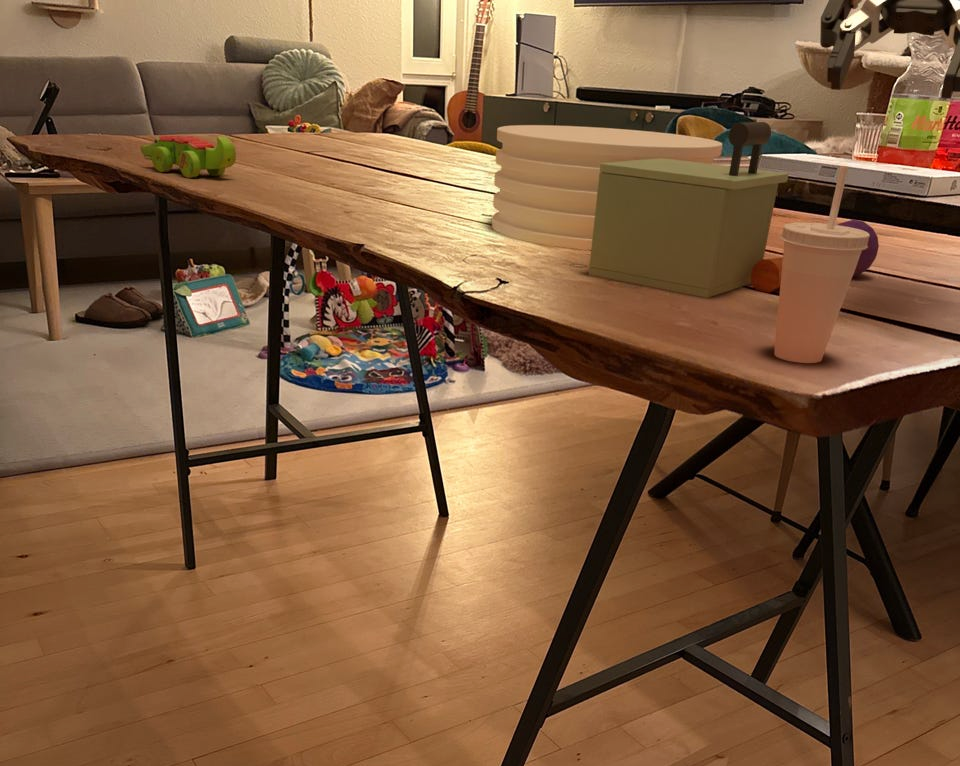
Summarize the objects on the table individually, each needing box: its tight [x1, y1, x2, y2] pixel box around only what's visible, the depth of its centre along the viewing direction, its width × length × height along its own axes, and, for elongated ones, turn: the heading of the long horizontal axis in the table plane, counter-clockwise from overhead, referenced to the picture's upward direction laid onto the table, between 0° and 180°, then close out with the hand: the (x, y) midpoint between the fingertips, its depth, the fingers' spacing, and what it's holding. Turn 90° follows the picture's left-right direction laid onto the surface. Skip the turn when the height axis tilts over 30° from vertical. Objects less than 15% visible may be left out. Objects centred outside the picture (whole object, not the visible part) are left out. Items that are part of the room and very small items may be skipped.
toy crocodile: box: [140, 135, 237, 179], centre depth 154 cm, size 20×7×6 cm, turn 50°
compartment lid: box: [600, 121, 790, 190], centre depth 96 cm, size 15×13×5 cm
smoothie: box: [773, 165, 870, 364], centre depth 74 cm, size 6×6×14 cm
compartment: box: [588, 172, 779, 299], centre depth 100 cm, size 14×13×10 cm
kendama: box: [751, 219, 880, 294], centre depth 104 cm, size 6×6×20 cm
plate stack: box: [491, 124, 723, 251], centre depth 123 cm, size 28×28×12 cm
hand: (890, 85), depth 76 cm, fingers open, 8 cm apart
